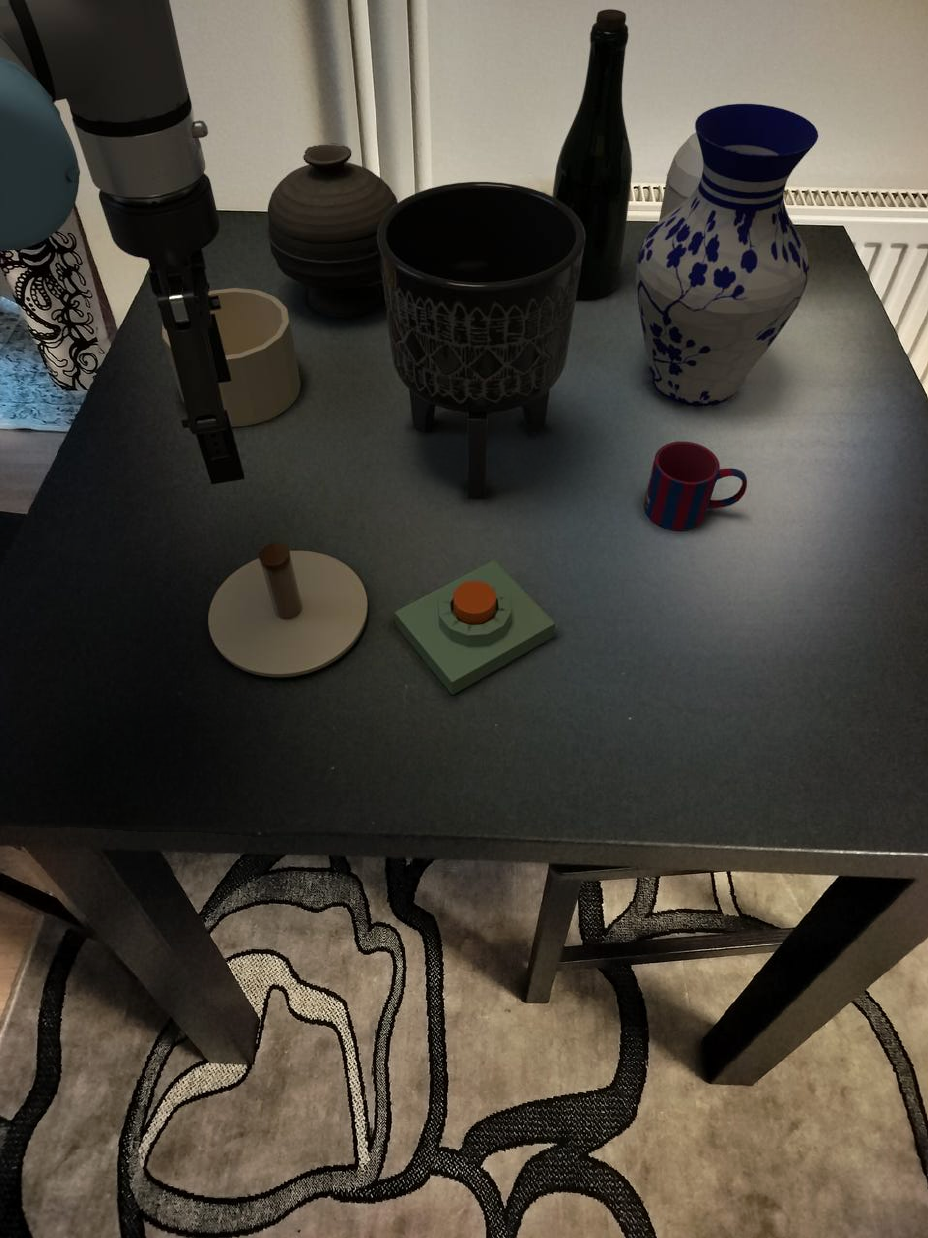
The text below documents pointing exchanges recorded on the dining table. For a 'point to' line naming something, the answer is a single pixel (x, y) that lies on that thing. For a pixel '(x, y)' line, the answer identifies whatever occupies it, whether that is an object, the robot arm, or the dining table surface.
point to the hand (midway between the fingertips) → (221, 427)
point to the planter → (480, 302)
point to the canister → (253, 356)
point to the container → (683, 175)
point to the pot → (330, 230)
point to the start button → (474, 602)
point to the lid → (287, 612)
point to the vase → (725, 257)
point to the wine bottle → (599, 158)
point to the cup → (686, 485)
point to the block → (474, 629)
